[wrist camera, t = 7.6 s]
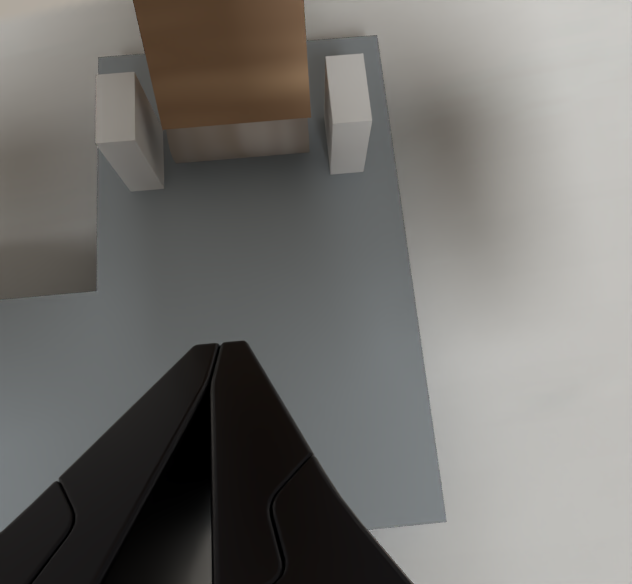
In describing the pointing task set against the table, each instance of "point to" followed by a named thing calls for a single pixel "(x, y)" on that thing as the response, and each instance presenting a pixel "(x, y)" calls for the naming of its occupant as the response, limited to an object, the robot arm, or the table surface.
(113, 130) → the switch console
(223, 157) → the orange capped lever
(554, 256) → the table surface
